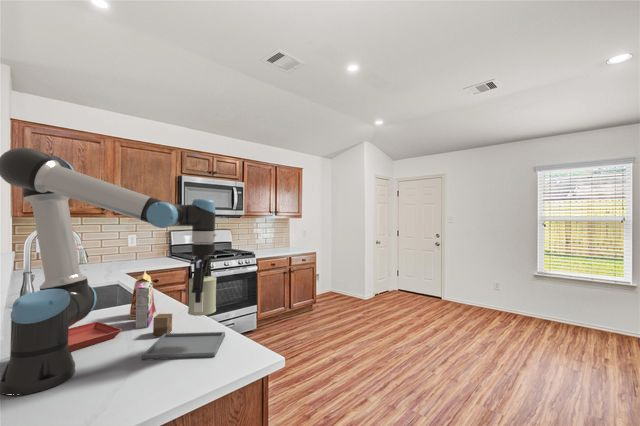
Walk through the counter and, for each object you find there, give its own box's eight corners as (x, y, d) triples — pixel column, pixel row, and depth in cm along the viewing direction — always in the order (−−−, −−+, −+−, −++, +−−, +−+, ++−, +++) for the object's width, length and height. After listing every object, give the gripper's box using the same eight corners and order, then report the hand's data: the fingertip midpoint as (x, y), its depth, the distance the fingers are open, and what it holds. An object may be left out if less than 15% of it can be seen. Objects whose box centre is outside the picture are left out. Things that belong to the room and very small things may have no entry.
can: (220, 308, 111) (221, 275, 111) (208, 316, 101) (209, 280, 102) (196, 307, 112) (196, 274, 112) (182, 315, 102) (183, 279, 103)
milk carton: (134, 313, 141) (135, 270, 141) (156, 312, 143) (157, 269, 144) (128, 320, 132) (129, 273, 132) (151, 318, 135) (153, 273, 135)
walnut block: (167, 336, 115) (167, 317, 115) (153, 336, 114) (153, 317, 114) (171, 331, 120) (172, 313, 120) (158, 331, 119) (158, 313, 119)
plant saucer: (96, 328, 122) (96, 320, 122) (122, 337, 114) (123, 328, 114) (38, 345, 106) (39, 335, 106) (64, 356, 98) (64, 346, 98)
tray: (214, 357, 98) (214, 352, 98) (142, 359, 95) (142, 355, 95) (225, 335, 116) (225, 331, 116) (164, 337, 113) (164, 333, 113)
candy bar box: (139, 320, 132) (140, 282, 132) (152, 319, 134) (153, 281, 134) (134, 329, 121) (135, 288, 122) (148, 327, 123) (149, 287, 123)
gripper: (206, 245, 97) (205, 317, 96) (220, 240, 118) (219, 299, 118) (182, 245, 96) (180, 317, 95) (200, 240, 117) (199, 299, 117)
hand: (202, 307), depth 107 cm, fingers closed on can, 9 cm apart
